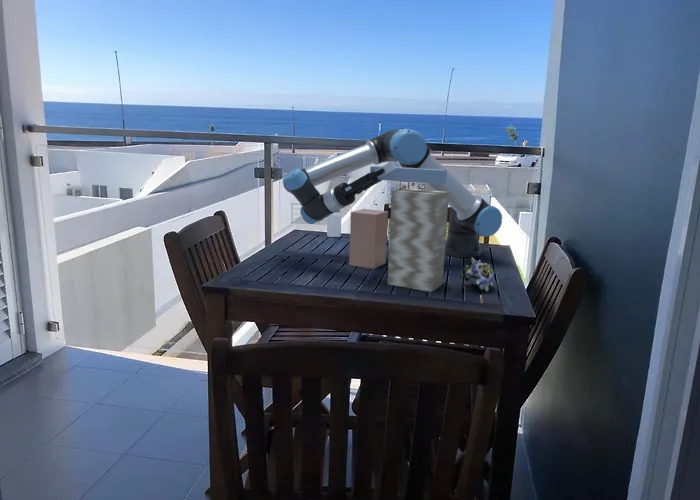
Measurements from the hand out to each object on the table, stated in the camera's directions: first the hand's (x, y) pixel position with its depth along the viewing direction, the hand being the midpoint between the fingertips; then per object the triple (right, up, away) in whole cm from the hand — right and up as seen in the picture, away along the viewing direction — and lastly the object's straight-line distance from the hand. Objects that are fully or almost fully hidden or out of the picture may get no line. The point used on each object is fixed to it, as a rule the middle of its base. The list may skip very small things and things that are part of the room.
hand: (396, 165), depth 165 cm
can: (-22, -21, +78) cm, 84 cm away
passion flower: (+25, -39, +2) cm, 47 cm away
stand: (+6, -38, +4) cm, 39 cm away
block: (-8, -32, +29) cm, 44 cm away
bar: (+3, -5, -1) cm, 6 cm away
